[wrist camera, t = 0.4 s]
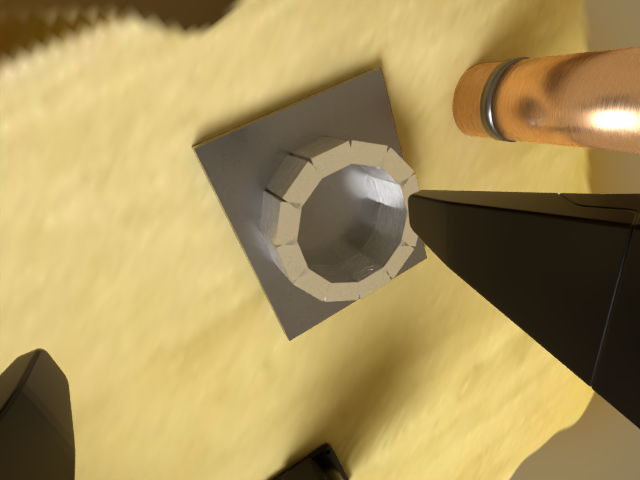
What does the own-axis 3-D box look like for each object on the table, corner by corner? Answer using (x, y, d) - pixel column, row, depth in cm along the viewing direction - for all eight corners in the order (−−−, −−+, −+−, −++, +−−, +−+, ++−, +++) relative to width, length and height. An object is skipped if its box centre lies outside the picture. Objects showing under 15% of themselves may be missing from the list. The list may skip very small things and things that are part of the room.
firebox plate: (418, 253, 30) (455, 272, 27) (284, 333, 27) (306, 366, 24) (372, 69, 24) (412, 63, 21) (191, 146, 21) (203, 155, 18)
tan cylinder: (509, 121, 30) (704, 132, 20) (457, 148, 29) (638, 175, 19) (501, 51, 28) (719, 21, 18) (445, 77, 27) (644, 62, 16)
